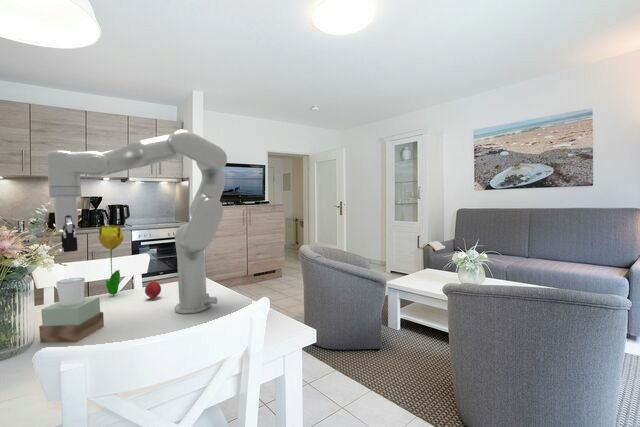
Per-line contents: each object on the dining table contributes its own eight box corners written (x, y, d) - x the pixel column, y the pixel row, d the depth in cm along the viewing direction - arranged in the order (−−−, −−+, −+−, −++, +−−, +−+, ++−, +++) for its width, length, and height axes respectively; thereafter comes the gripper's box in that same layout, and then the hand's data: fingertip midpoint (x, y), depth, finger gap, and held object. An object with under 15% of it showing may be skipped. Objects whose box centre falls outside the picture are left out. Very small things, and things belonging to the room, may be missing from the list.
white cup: (53, 304, 95) (51, 281, 95) (79, 297, 102) (77, 276, 101) (64, 308, 92) (63, 284, 92) (90, 301, 98) (89, 278, 98)
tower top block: (100, 312, 102) (99, 297, 102) (78, 325, 92) (77, 308, 92) (67, 313, 102) (66, 298, 102) (42, 326, 92) (41, 309, 92)
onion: (143, 298, 130) (142, 279, 129) (159, 295, 133) (158, 276, 133) (147, 302, 125) (146, 282, 125) (163, 298, 129) (162, 279, 129)
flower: (96, 298, 131) (92, 226, 129) (113, 292, 139) (109, 224, 137) (114, 299, 129) (109, 226, 127) (130, 293, 137) (126, 224, 135)
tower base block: (104, 327, 103) (103, 311, 103) (77, 342, 92) (76, 326, 92) (70, 327, 103) (69, 312, 103) (40, 343, 92) (39, 326, 92)
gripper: (48, 193, 99) (52, 247, 100) (49, 192, 86) (54, 255, 87) (78, 192, 104) (82, 244, 105) (84, 192, 91) (88, 251, 92)
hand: (69, 249), depth 96 cm, fingers open, 9 cm apart
